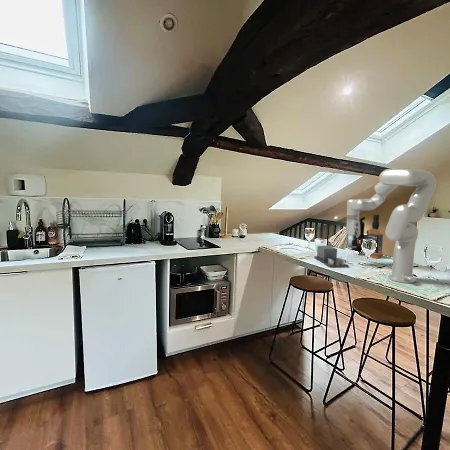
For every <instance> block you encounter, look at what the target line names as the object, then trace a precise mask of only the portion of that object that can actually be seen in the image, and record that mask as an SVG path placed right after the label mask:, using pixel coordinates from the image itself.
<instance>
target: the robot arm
mask: <svg viewBox="0 0 450 450" xmlns="http://www.w3.org/2000/svg"><path fill="white" fill-rule="evenodd" d="M378 180H379V182H378V183H376V184H375V185H374V187H373V188H374V191H375V194H374V195H373V196H372V197H370V198H357V199H356V198H355V199H354V198H353V199H352V198H351V199H348V200H347V202H346V226H345V227H346V229H345V232H346V233H345V234H346V238H347V240H348V235H352V237H353V240H352V246H357V244H358V241H359V238H358V237H359V235H360V221H359V219H360V211H361V212H365V211H367V212H368V211H373V210H375V209H377V208H378V207H379V206H381V205H382V204H383V203H384V202H385V200H386V198H387V196H388V195H389V194H390V193H391V192H393V191H394V190H395V189H396V188H398V187H399V186H402V187H416V188H415V190H414V191H412V193H411V195H410V197H409V200H408V202H407V203H406V204H405V203H404V204H400V205H397V206H396V207H395V208H394V209H393V210H392V212H391V214H390V217H389V219H388V222H387V224H386V227H385V229H384V230H385V232H384V235H385V237H386V239H387V240H389V241H391V242H395V243H394V246H393V255H392V257H393V258H392V269H391V274H388V279H390V280H391V281H394V282H397V283H403V284H404V283H405V284H412V283H416V281H417V278H416V277H414V273H413V270H414V263H415V262H414V260H415V259H414V258H415V249H416V244H417V240H418V237H419V236H418V235H419V229H418V228H417V226H416V225H415V224H413V223H417V222H420V221H421V220H422V219H423V217H424V215H425V212H426V210H427V208H428V206H429V203H430V201H431V200H432V199H431V198H432V196H433V195H434V193H435V190H436V189H437V178H436V176H435V175H434V174H433V173H432V172H430V171H428V170H425V169H413V168H408V169H407V168H394V169H393V168H386V169H383V171H381V173H380V174H379V176H378ZM354 236H355V237H354Z"/></svg>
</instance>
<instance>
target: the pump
mask: <svg viewBox="0 0 450 450" xmlns="http://www.w3.org/2000/svg"><path fill="white" fill-rule="evenodd" d="M354 237H355V236H354ZM352 240H353V237H352V235H348V239H347V248H350V249H352V248H356V246H352Z"/></svg>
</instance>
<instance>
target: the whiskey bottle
mask: <svg viewBox="0 0 450 450" xmlns="http://www.w3.org/2000/svg"><path fill="white" fill-rule="evenodd" d="M372 217H373V218H372V224H371V228H369V229H368V230H366V240H367V239H373V240H375V241H376V243H377V247H376V250H375V252H374V253H373V254H371V255H370V257H372V258H371V259H375V258H376V259H375V260H377V259H378V260H379V259H381V258H383V241H384V240H383V238H384V235H385V232H384V230H382V229H381V228H380V222H379V220H380V214H373V216H372Z"/></svg>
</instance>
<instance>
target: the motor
mask: <svg viewBox="0 0 450 450" xmlns="http://www.w3.org/2000/svg"><path fill="white" fill-rule="evenodd" d="M314 259H315V260H316V259H317V260H316V261H318V262H320V263H322V265H325V266H327V267H329V268H330V269H331V268H333V269H334V268H337V269H338V268H349V264H346V262H345V261H346V260H345V259H343V258H342V257H341V258H339V259H338V248H336V247H334V246H331V245H317V249H316V255H314Z"/></svg>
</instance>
